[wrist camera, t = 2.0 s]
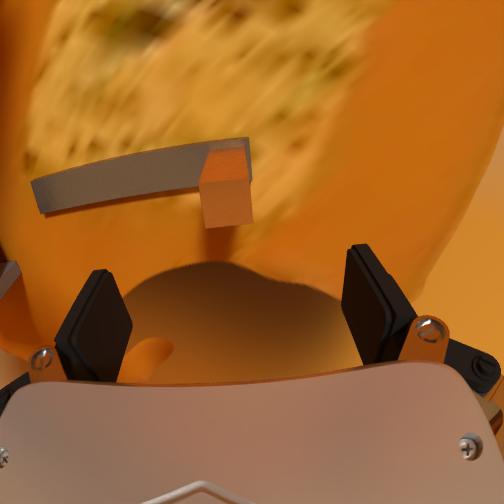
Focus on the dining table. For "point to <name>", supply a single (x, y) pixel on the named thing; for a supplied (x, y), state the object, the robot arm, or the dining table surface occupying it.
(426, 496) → the robot arm
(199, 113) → the dining table surface
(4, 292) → the grey bridge block
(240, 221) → the scraper
